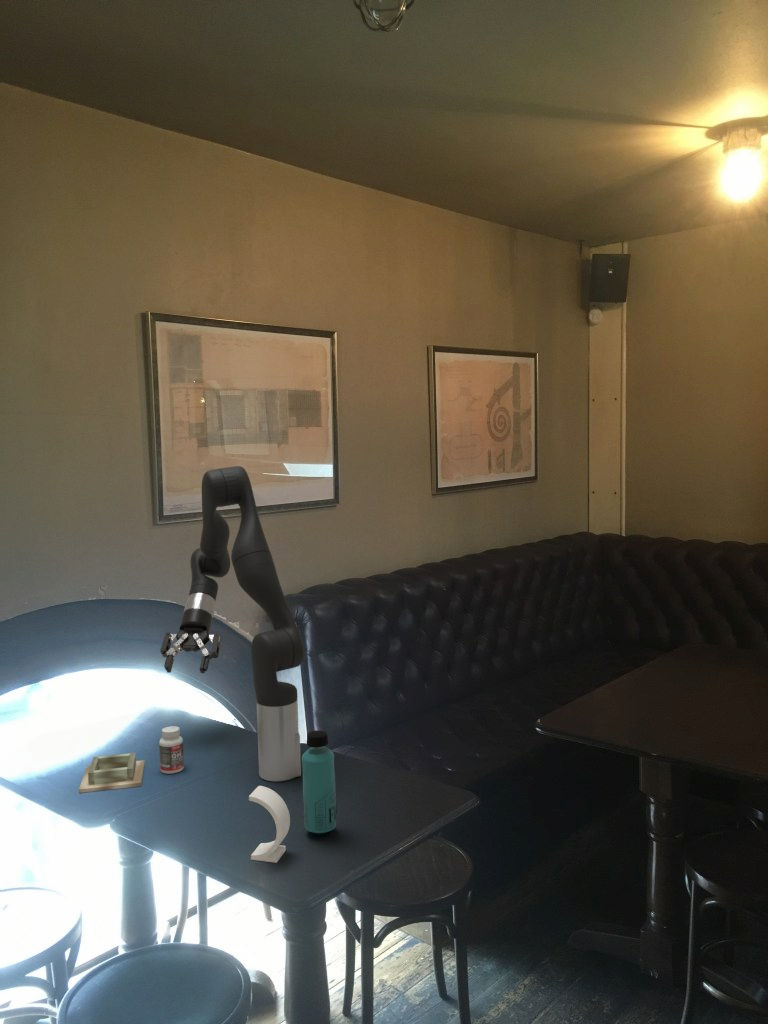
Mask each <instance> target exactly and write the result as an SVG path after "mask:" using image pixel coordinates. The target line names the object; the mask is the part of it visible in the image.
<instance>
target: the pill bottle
mask: <svg viewBox="0 0 768 1024" xmlns="http://www.w3.org/2000/svg"><path fill="white" fill-rule="evenodd" d="M180 731H181V730H180V727H178V726H176V725H175V726H172V725H171V726H170V725H169V726H165V727H164V728H162V729H161V738H160V740H159V742H158V746H159V749H158V750H159V765H160V766H159V767H160V768H159V769H160V772H161V773H163V774H168V775H169V774H171V775H172V774H177V773H180V772H181V771H183V770H184V768H185V762H184V761H185V760H184V759H185V758H184V757H185V756H184V739H183V737H182V736H181V735H180V734H181V732H180Z"/></svg>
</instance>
